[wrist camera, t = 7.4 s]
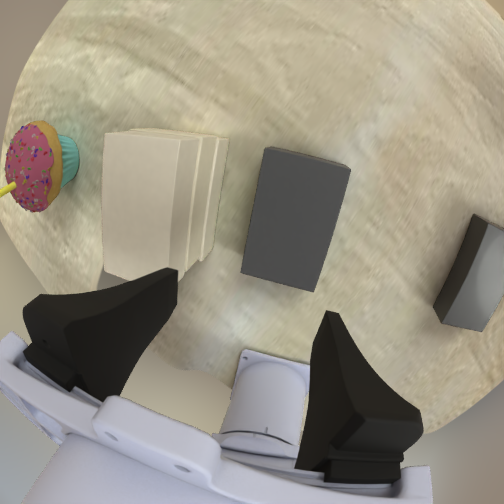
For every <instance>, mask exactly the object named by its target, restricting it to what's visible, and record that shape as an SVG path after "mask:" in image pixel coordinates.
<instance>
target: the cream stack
mask: <svg viewBox="0 0 504 504" xmlns="http://www.w3.org/2000/svg"><path fill="white" fill-rule="evenodd" d="M130 131H137V132H149V133H159V134H169V135H177V136H185V137H193V138H199V139H200V140H199V146H198V153H197V160H196V167H195V174H194V181H193V189H192V197H191V206H190V215H189V224H188V234H187V245H186V257H185V269H184V271H188V269H189V268H190V267H191V266H192V265H193V264H194V263H195V262H196V261H197V260H198V261H203V259H204V258H205V257H206V256H207V255H208V254H209V253H210V251H211V250H212V249H213V243H214V236H215V229H216V222H217V215H218V208H219V202H220V195H221V189H222V183H223V177H224V170H225V164H226V159H227V153H228V147H229V141H230V139H228V138H222V137H217V136H213V135H207V134H200V133H192V132H184V131H175V130H166V129H155V128H139V129H130Z"/></svg>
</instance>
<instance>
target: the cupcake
mask: <svg viewBox="0 0 504 504" xmlns="http://www.w3.org/2000/svg"><path fill="white" fill-rule="evenodd" d="M7 152H8V153H7V154H6V155H7V158H6V164H5V171H6V176H5V177H6V180H7V183H8V185H7V186H5V187H3V188H2V189H0V197H2V196H3V195H5V194H7V193H8V192H10V193H11V194H12V196H13V198H14V199H15V200H16V203H19V205H21V207H22V208H24V209H25V210H26V211H27V210H30V212H41V211H43V210H45V209H46V208H47V207H48V206H49V205H50V204H51V203H52V201H53V200H54V199H55V198H56V197H57V195H58V194H59V192H60V189H61V188H62V187H63V186H64V185H65V184H66V183H68V182H69V181H70V180H72V179H73V178H74V176H75V175H76V173H77V170H78V166H79V153H78V149H77V146H76V144H75V142H74V141H73V140H72V139H71V138H69V137H65V136H61V135H58V134H57V132H56V130H55V128H54V127H52V126H51V125H49V124H48V123H46V122H45V121H34V122H31V123H29V124H27V125H26V126H22V127H21V129H20V130H19V131H18V132H17V133H16V134H15V136H14V138H13V139H11V143H10V146H9V149H8V151H7Z"/></svg>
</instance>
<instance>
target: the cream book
mask: <svg viewBox="0 0 504 504" xmlns="http://www.w3.org/2000/svg"><path fill="white" fill-rule="evenodd" d="M199 140H200V139H199V138H193V137H185V136H177V135H169V134H159V133H149V132H137V131H123V132H110V133H105V137H104V149H103V164H102V196H101V210H102V242H103V258H104V269H105V271H106V272H108V273H110V274H113V275H115V276H118V277H121V278H123V279H126V280H129V281H132V280H135V279H137V278H140V277H142V276H145V275H147V274H150V273H152V272H155V271H158V270H160V269H163V268H166V267H169V268H172V269H176V270H178V282H179V281H180V280H181V279H182V277H183V276H184V269H185V257H186V245H187V234H188V224H189V215H190V206H191V197H192V189H193V181H194V174H195V167H196V160H197V153H198V146H199Z"/></svg>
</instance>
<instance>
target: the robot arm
mask: <svg viewBox="0 0 504 504" xmlns="http://www.w3.org/2000/svg"><path fill="white" fill-rule="evenodd" d="M177 291H178V270H176V269H172V268H169V267H166V268H163V269H160V270H158V271H155V272H152V273H150V274H147V275H145V276H142V277H140V278H137V279H135V280H132V281H129V282H126V283H123V284H120V285H118V286H115V287H111V288H107V289H103V290H98V291H92V292H86V293H79V294H66V295H50V294H48V295H47V294H40V295H39V296H37V297H36V298H35V299H34V300H32V301H31V302H30V303H28V304H27V305H26V306H25V307H24V308H23V319H24V322H25V325H26V328H27V330H28V333H29V335H30V338H31V340H32V343H31V344H30V345H29V346H28V345H27V344H26V342H25V341H24V340H23V339H22V338H21V337H19V336H18V335H17V334H16V333H14V332H13V331H11V332H10V333H9V334H8V335H6V336H5V337H4V338H3V339H2V340H1V341H0V391H1V392H2V393H3V394H4V395H5V396H6V397H7V398H8V400H9V401H11V403H12V404H14V406H15V407H17V408H18V409H19V410H20V411H21V412H22V413H23V414H24V415H25V416H26V417H27V418H28V419H29V420H30V421H31V422H32V423H33V424H34V425H35V426H37V427H38V428H39V429H40V430H41V431H42V432H43V433H45V434H46V435H47V436H48V437H49V438H50V439H52V440H53V441H54V442H55V443H57V444H58V445H59V446H60V447H59V448H58V450H57V451H56V453H55V454H54V456H53V457H52V458H51V460H50V461H49V463H48V464H47V465H46V467H45V469H44V470H43V471H42V473H41V474H40V476H39V477H38V479H37V480H36V482H35V483H34V485H33V486H32V488H31V489H30V491H29V492H28V494H27V495H26V497H25V498H24V500H23V501H22V503H21V504H433V497H432V496H433V495H432V483H431V474H430V466H429V465H424V466H410V467H405V468H402V469H400V462H402V461H403V460H404V456H403V452H405V451H406V450H407V449H408V448H409V447H411V446H412V445H413V444H414V443H415V442H417V440H418V439H419V438H420V437H421V436H422V434H423V432H424V431H423V423H422V418H421V413H420V410H419V409H417V408H416V407H415V406H413V405H412V404H410V403H409V402H407V401H406V400H405V399H403V398H402V397H401V396H400V395H398V394H397V393H396V392H395V391H394V390H393V389H392V388H390V387H389V386H388V385H387V384H386V383H385V382H384V381H383V380H382V379H381V378H380V377H379V375H378V374H377V373H376V372H375V371H374V370H373V368H372V367H371V366H370V365H369V363H368V362H367V361H366V359H365V358H364V356H363V355H362V353H361V352H360V350H359V349H358V347H357V346H356V344H355V342H354V341H353V339H352V337H351V336H350V334H349V332H348V330H347V328H346V326H345V324H344V322H343V321H342V319H341V317H340V315H339V313H336V312H331V311H327V310H326V312H325V315H324V317H323V320H322V322H321V324H320V327H319V329H318V332H317V334H316V337H315V339H314V341H313V346H312V352H311V359H310V365H306V364H302V363H298V362H294V361H290V360H285V359H282V358H278V357H274V356H270V355H266V354H262V353H259V352H255V351H252V350H248V349H244V350H242V352H241V356H240V360H239V364H238V369H237V373H236V377H235V381H234V385H233V389H232V393H231V397H230V400H231V401H230V404H229V407H228V410H227V412H226V415H225V418H224V421H223V424H222V426H221V429H220V432H219V434H216V433H213V434H212V436H211V435H209V434H208V433H206V432H204V431H202V430H200V429H198V428H195V427H193V426H191V425H188V424H185V423H182V422H180V421H177V420H175V419H172V418H170V417H167V416H164V415H162V414H160V413H157V412H155V411H153V410H151V409H148V408H146V407H144V406H142V405H139V404H137V403H135V402H133V401H131V400H129V399H126V398H123V397H120V394H121V392H122V390H123V388H124V386H125V383H126V381H127V380H128V378H129V376H130V374H131V372H132V370H133V368H134V367H135V365H136V363H137V362H138V360H139V358H140V356H141V355H142V353H143V352H144V350H145V349H146V348H147V346H148V345H149V344H150V343H151V341H152V340H153V339H154V337H155V336H156V335H157V334H158V332H159V331H160V330H161V328H162V327H163V326H164V325H165V323H166V322H167V321H168V319H169V318H170V316H171V314H172V312H173V311H174V309H175V307H176V305H177ZM244 356H245V357H244ZM308 392H309V402H308V410H307V415H306V421H305V426H304V431H303V435H302V440H301V444H300V446H298V445H299V438H300V431H301V424H302V417H303V409H304V401H305V397H306V395H307V394H308Z"/></svg>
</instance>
